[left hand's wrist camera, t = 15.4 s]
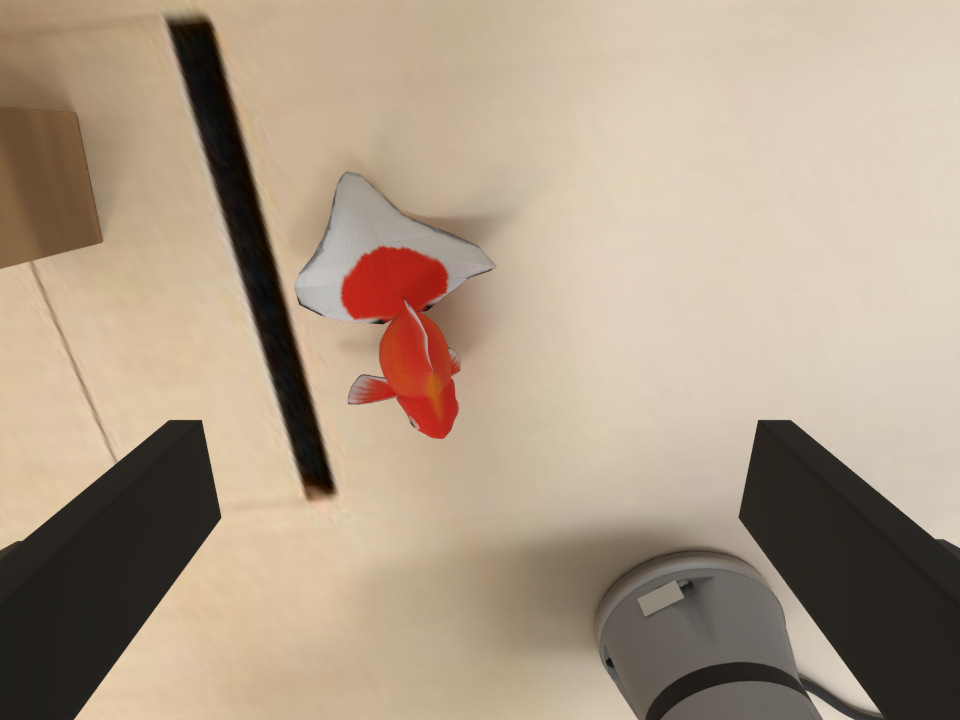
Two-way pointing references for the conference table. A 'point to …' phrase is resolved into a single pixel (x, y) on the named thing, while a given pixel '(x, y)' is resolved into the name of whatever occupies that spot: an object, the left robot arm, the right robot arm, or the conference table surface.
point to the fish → (392, 297)
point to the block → (43, 186)
